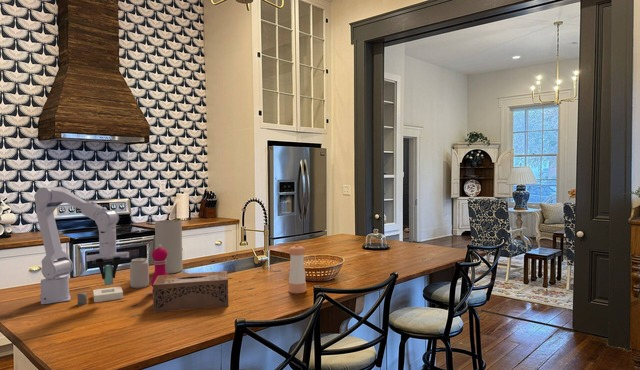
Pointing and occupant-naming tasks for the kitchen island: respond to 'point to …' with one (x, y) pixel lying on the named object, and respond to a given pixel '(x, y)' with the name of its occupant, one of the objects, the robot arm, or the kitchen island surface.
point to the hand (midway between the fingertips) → (108, 278)
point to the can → (139, 273)
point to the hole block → (107, 294)
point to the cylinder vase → (170, 243)
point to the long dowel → (108, 275)
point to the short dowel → (82, 298)
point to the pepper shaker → (297, 270)
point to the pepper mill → (159, 262)
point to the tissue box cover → (190, 291)
